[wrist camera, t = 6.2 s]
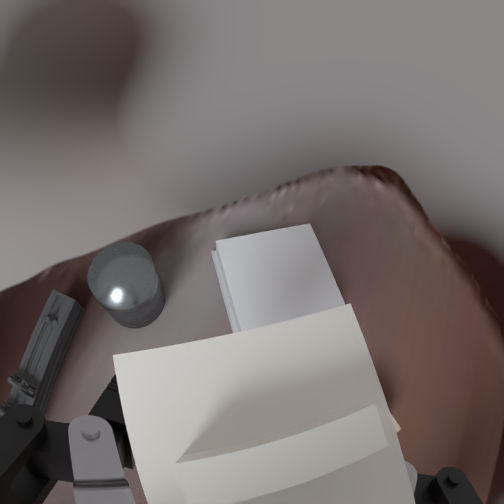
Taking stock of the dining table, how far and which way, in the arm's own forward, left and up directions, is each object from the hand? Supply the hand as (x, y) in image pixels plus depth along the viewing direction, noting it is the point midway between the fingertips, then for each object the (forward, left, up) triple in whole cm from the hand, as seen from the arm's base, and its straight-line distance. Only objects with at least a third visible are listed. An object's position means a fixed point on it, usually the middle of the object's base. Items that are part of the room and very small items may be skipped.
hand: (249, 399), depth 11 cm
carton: (-1, -1, -5) cm, 5 cm away
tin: (-6, +13, -17) cm, 22 cm away
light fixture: (-17, +7, -18) cm, 26 cm away
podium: (+8, +11, -17) cm, 22 cm away
